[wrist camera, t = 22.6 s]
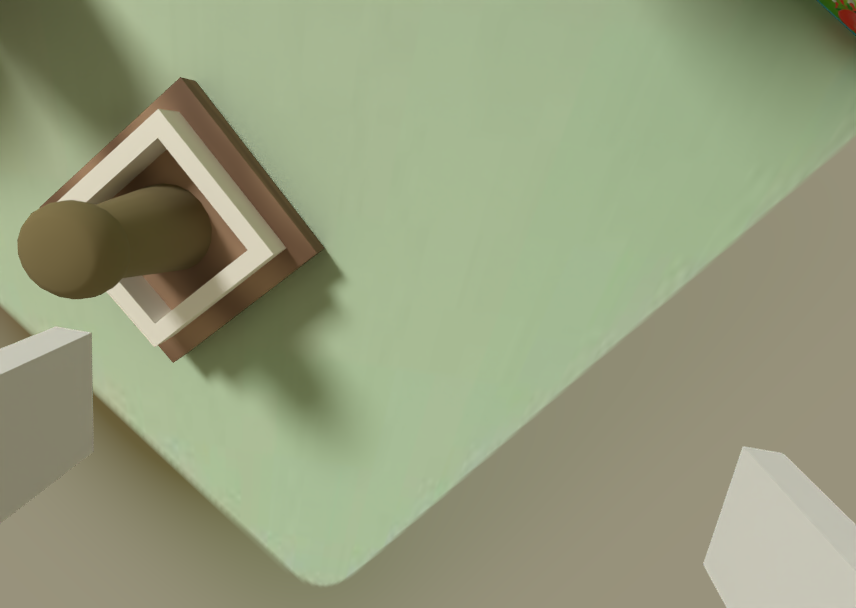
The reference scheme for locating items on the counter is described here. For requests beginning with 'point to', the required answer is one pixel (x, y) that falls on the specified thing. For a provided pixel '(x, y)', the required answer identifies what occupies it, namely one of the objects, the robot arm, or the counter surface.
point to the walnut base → (223, 201)
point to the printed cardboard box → (842, 12)
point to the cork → (113, 240)
